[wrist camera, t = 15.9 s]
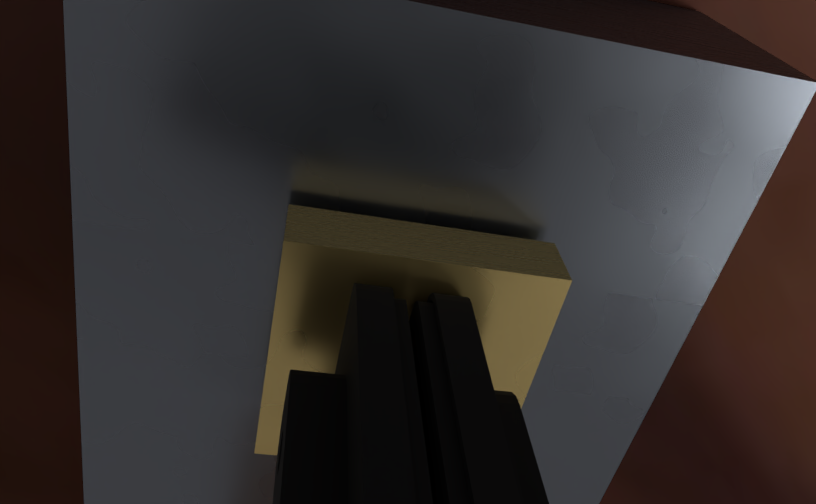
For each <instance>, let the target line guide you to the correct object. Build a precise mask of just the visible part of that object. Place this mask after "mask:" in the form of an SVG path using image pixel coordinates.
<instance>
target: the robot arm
mask: <svg viewBox="0 0 816 504" xmlns="http://www.w3.org/2000/svg"><path fill="white" fill-rule="evenodd" d="M272 504H549V501H548V498H547V495H546V491H545V488H544V485H543V481H542V478H541V474H540V471H539V468H538V464H537V461H536V458H535V454H534V451H533V447H532V444H531V441H530V437H529V434H528V430H527V427H526V424H525V420H524V417H523V414H522V410H521V407H520V404H519V401H518V399H517V397H516V395H515V394H514V393H512V392H508V391H498V390H494V387H493V383H492V380H491V376H490V372H489V368H488V364H487V360H486V356H485V353H484V349H483V345H482V341H481V337H480V333H479V330H478V326H477V322H476V318H475V314H474V310H473V306H472V303H471V300H470V298H468V297H463V296H455V295H447V294H439V293H431V294H430V295H429V297H428V300H427V302H423V301H416V302H415V303H414V306H413V309H412V312H411V316H410V320H409V316H408V309H407V302H406V300H405V299H398V298H394V292H393V289H392V288H391V287H383V286H375V285H367V284H359V283H354V285H353V288H352V292H351V297H350V302H349V307H348V312H347V316H346V321H345V326H344V331H343V336H342V341H341V346H340V351H339V355H338V360H337V365H336V370H335V374H331V373H321V372H312V371H302V370H292V369H291V370H290V372H289V377H288V383H287V389H286V395H285V401H284V408H283V414H282V421H281V429H280V436H279V444H278V453H277V462H276V472H275V482H274V493H273V503H272Z"/></svg>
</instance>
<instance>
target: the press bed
mask: <svg viewBox="0 0 816 504" xmlns="http://www.w3.org/2000/svg"><path fill="white" fill-rule="evenodd" d="M63 10H64V34H65V58H66V82H67V106H68V130H69V155H70V179H71V203H72V227H73V251H74V275H75V299H76V323H77V347H78V371H79V395H80V419H81V443H82V467H83V491H84V504H272V503H273V493H274V482H275V472H276V462H277V455H266V454H255V453H254V451H255V444H256V437H257V429H258V422H259V415H260V408H261V400H262V393H263V386H264V379H265V371H266V364H267V357H268V350H269V342H270V335H271V328H272V321H273V313H274V306H275V299H276V292H277V284H278V277H279V270H280V263H281V255H282V248H283V241H284V234H285V227H286V220H287V213H288V206H289V204H292V205H299V206H306V207H312V208H319V209H326V210H333V211H340V212H346V213H353V214H360V215H367V216H374V217H381V218H387V219H394V220H401V221H408V222H415V223H422V224H428V225H435V226H442V227H449V228H456V229H463V230H469V231H476V232H483V233H490V234H497V235H503V236H510V237H517V238H524V239H531V240H538V241H544V242H551V243H555V245H556V247H557V249H558V251H559V254H560V256H561V258H562V260H563V262H564V264H565V266H566V268H567V271H568V273H569V275H570V277H571V279H572V282H571V285H570V287H569V290H568V292H567V295H566V298H565V300H564V303H563V305H562V308H561V310H560V313H559V315H558V318H557V320H556V323H555V325H554V328H553V330H552V333H551V335H550V338H549V340H548V343H547V345H546V348H545V350H544V353H543V355H542V358H541V360H540V363H539V365H538V368H537V370H536V373H535V375H534V378H533V380H532V383H531V385H530V388H529V391H528V393H527V396H526V398H525V401H524V403H523V406H522V408H521V410H522V414H523V417H524V420H525V424H526V427H527V430H528V434H529V437H530V441H531V444H532V447H533V451H534V454H535V458H536V461H537V464H538V468H539V471H540V474H541V478H542V481H543V485H544V488H545V491H546V495H547V498H548V501H549V504H599V503H600V501H601V499H602V497H603V495H604V493H605V491H606V489H607V488H608V486H609V484H610V482H611V480H612V478H613V476H614V474H615V472H616V470H617V468H618V467H619V465H620V463H621V461H622V459H623V457H624V455H625V453H626V451H627V449H628V448H629V446H630V444H631V442H632V440H633V438H634V436H635V434H636V432H637V430H638V428H639V427H640V425H641V423H642V421H643V419H644V417H645V415H646V413H647V411H648V409H649V408H650V406H651V404H652V402H653V400H654V398H655V396H656V394H657V392H658V390H659V388H660V387H661V385H662V383H663V381H664V379H665V377H666V375H667V373H668V371H669V369H670V368H671V366H672V364H673V362H674V360H675V358H676V356H677V354H678V352H679V350H680V348H681V347H682V345H683V343H684V341H685V339H686V337H687V335H688V333H689V331H690V329H691V328H692V326H693V324H694V322H695V320H696V318H697V316H698V314H699V312H700V310H701V308H702V307H703V305H704V303H705V301H706V299H707V297H708V295H709V293H710V291H711V289H712V288H713V286H714V284H715V282H716V280H717V278H718V276H719V274H720V272H721V270H722V268H723V267H724V265H725V263H726V261H727V259H728V257H729V255H730V253H731V251H732V249H733V248H734V246H735V244H736V242H737V240H738V238H739V236H740V234H741V232H742V230H743V229H744V227H745V225H746V223H747V221H748V219H749V217H750V215H751V213H752V211H753V209H754V208H755V206H756V204H757V202H758V200H759V198H760V196H761V194H762V192H763V190H764V189H765V187H766V185H767V183H768V181H769V179H770V177H771V175H772V173H773V171H774V169H775V168H776V166H777V164H778V162H779V160H780V158H781V156H782V154H783V152H784V150H785V149H786V147H787V145H788V143H789V141H790V139H791V137H792V135H793V133H794V131H795V129H796V128H797V126H798V124H799V122H800V120H801V118H802V116H803V114H804V112H805V110H806V109H807V107H808V105H809V103H810V101H811V99H812V97H813V95H814V93H815V91H816V81H815V80H813V79H812V78H810V77H808V76H807V75H805V74H803V73H802V72H800V71H798V70H797V69H795V68H793V67H792V66H790V65H788V64H787V63H785V62H783V61H782V60H780V59H778V58H777V57H775V56H773V55H772V54H770V53H768V52H767V51H765V50H763V49H762V48H760V47H758V46H757V45H755V44H753V43H751V42H750V41H748V40H746V39H745V38H743V37H741V36H740V35H738V34H736V33H735V32H733V31H731V30H730V29H728V28H726V27H725V26H723V25H721V24H720V23H718V22H716V21H715V20H713V19H711V18H710V17H708V16H706V15H705V14H703V13H701V12H699V11H695V10H690V9H685V8H681V7H676V6H671V5H667V4H662V3H657V2H653V1H648V0H63Z"/></svg>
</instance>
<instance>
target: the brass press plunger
mask: <svg viewBox="0 0 816 504" xmlns="http://www.w3.org/2000/svg"><path fill="white" fill-rule="evenodd" d="M571 282H572V279H571V277H570V275H569V273H568V271H567V268H566V266H565V264H564V262H563V260H562V258H561V256H560V254H559V251H558V249H557V247H556V245H555V243H551V242H544V241H538V240H531V239H524V238H517V237H510V236H503V235H497V234H490V233H483V232H476V231H469V230H463V229H456V228H449V227H442V226H435V225H428V224H422V223H415V222H408V221H401V220H394V219H387V218H381V217H374V216H367V215H360V214H353V213H346V212H340V211H333V210H326V209H319V208H312V207H306V206H299V205H292V204H289V206H288V213H287V220H286V227H285V234H284V241H283V248H282V255H281V263H280V270H279V277H278V284H277V292H276V299H275V306H274V313H273V321H272V328H271V335H270V342H269V350H268V357H267V364H266V371H265V379H264V386H263V393H262V400H261V408H260V415H259V422H258V429H257V437H256V444H255V451H254V453H255V454H266V455H277V453H278V444H279V436H280V429H281V421H282V414H283V408H284V401H285V395H286V389H287V383H288V377H289V372H290V370H291V369H292V370H302V371H312V372H321V373H331V374H335V370H336V365H337V360H338V355H339V351H340V346H341V341H342V336H343V331H344V326H345V321H346V316H347V312H348V307H349V302H350V297H351V292H352V288H353V285H354V283H359V284H367V285H375V286H383V287H391V288H392V289H393V292H394V298H398V299H405V300H406V302H407V309H408V316H409V320H410V316H411V312H412V309H413V306H414V303H415V302H416V301H423V302H427V300H428V297H429V295H430V294H431V293H439V294H447V295H455V296H463V297H468V298H470V300H471V303H472V306H473V310H474V314H475V318H476V322H477V326H478V330H479V333H480V337H481V341H482V345H483V349H484V353H485V356H486V360H487V364H488V368H489V372H490V376H491V380H492V383H493V387H494V390H498V391H508V392H512V393H514V394H515V395H516V397H517V399H518V401H519V404H520V407H521V408H522V406H523V403H524V401H525V398H526V396H527V393H528V391H529V388H530V385H531V383H532V380H533V378H534V375H535V373H536V370H537V368H538V365H539V363H540V360H541V358H542V355H543V353H544V350H545V348H546V345H547V343H548V340H549V338H550V335H551V333H552V330H553V328H554V325H555V323H556V320H557V318H558V315H559V313H560V310H561V308H562V305H563V303H564V300H565V298H566V295H567V292H568V290H569V287H570V285H571Z"/></svg>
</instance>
